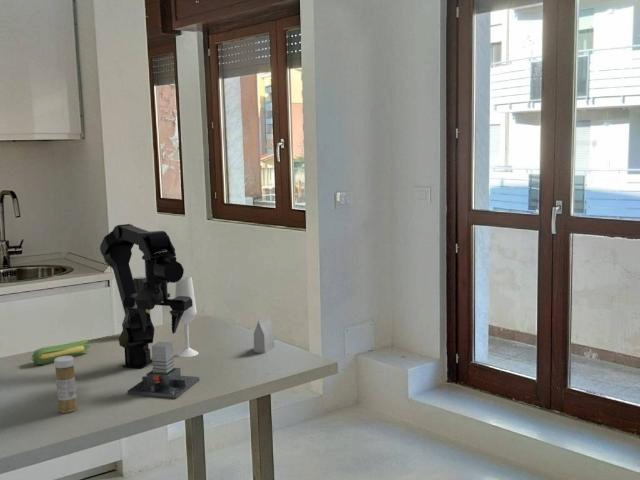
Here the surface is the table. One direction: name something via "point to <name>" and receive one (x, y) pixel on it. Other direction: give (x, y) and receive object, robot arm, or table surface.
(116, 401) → the table surface
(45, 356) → the edible corn
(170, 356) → the block
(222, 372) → the table surface
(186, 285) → the champagne flute
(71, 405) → the sprinkles bottle
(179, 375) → the jack base
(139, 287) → the sauce bottle
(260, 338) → the white gable top carton
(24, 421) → the table surface
